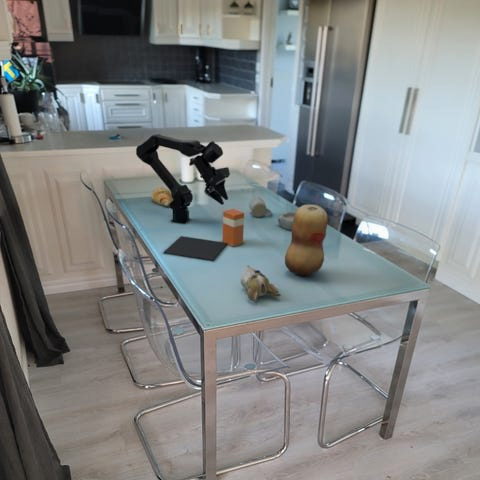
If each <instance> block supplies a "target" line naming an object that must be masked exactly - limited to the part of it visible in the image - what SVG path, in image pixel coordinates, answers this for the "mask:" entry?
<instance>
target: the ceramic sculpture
mask: <svg viewBox="0 0 480 480" xmlns="http://www.w3.org/2000/svg"><path fill="white" fill-rule="evenodd" d="M240 285H241V286H242V287H243V288H244V289H246V294H247V295H246V296H247V297H248V299H249V300H251V301H252V302H257V301H258V299H259V298H260V297H263V296H265V295H267V294H268V295H269V296H271V297H281V296H282V295H281V293H279V290H278V288H277V287H276V286H275V285H274V284H272V283H270V281H269V279H268V278H267V276H266V275H265V274H263V273H262V271H260V270H259V269H255V268H254V267H251V266H250V265H247V266H246V267H245V269H244V271H243V273H242V274H241V278H240Z"/></svg>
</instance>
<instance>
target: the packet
mask: <svg viewBox="0 0 480 480" xmlns="http://www.w3.org/2000/svg"><path fill="white" fill-rule="evenodd" d="M244 229H245V212H243V211H241V210H238V209H236V208H230V209H226V210H223V211H222V241H221V242H224V243H227V245H228V246H231V247H236V246H240V245H242V244H244Z"/></svg>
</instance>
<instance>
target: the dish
mask: <svg viewBox="0 0 480 480" xmlns="http://www.w3.org/2000/svg"><path fill="white" fill-rule="evenodd" d="M295 212H296V211H287V212H283V213H281V214H280V216H278V218H277V222H278V223H279V226H280V227H281V228H283V229H286V230H289V231H292V223H293V219H294V215H295Z"/></svg>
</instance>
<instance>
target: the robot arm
mask: <svg viewBox="0 0 480 480" xmlns="http://www.w3.org/2000/svg"><path fill="white" fill-rule="evenodd" d="M160 147H162V148H167V149H170V150H173V151H178V152H179V153H180V154H181V155H183V156H185V157H187V158H190V159H189V163H188V164H189V167H191V166H194V167H195V168H196V170H197V172H198V174H199V177H200V179H202V180H203V182H204V183H205V188H204V194H205V195H206V196H208V197H209V198H211V199H212V200H214V201H216V203H218V204H220V205H221V206H223V205H224V204H225V203H224V200H225V201H227V200H229V196H228V194H227V190H226V186H225V185H226V179H228V178H229V177H230V176H231V174H230V168H229V167H228V166H227V167H220V168H216V167H215V166H212V165H211V164H214V163H215V162H216V161H217V160H218V159H220V158H222V156H223V155H224V151H223V149H222V147H221V146H220V145H219V144H217V143H216V142H215V141H214V140H212V141H209V143H208V144H207V145H204V144H201V142H200V141H199V140H197V139H186V140H185V139H184V140H182V139H178V138H174V137H170V136H166V135H163V134H161V133H157V134H152V135H150V137H149V138H148V139H147V140H145V141H143V143H141V144H140V145H137V146H136V149H135V154H136V157H137V158H138V159H139V160H140V161H141V162H142V163H144V164H146V165H148V166H149V167H150V168H151V169H152V170H153V172H155V174H156V175H157V176H158V178H159V179H160V180H161V181H162V183H163V184H164V185H165V186H166V187H167V189H168V190H169V191H170V193H171V196H172V202H171V203H170V204H169V205H170V206H169V208H170V210H172V219H171V222H172V223H179V224H186V223H187V222H188V221H189V220H190V210H189V207H190V206H191V203H192V202H193V200H194V194H193V192H192V190H191V189H190V188H189V186H188V185H187V184H181V183H179V181H178V180H177V179H176V178H175V177H174V175H172V173H171V172H170V171H169V169H168V168H167V167H166V166H165V165H164V163H163V162H162V161H161V160H160V158H159V153H158V151H157V150H158V149H160ZM194 156H195V157H194ZM191 157H192V158H191ZM223 199H224V200H223Z"/></svg>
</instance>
